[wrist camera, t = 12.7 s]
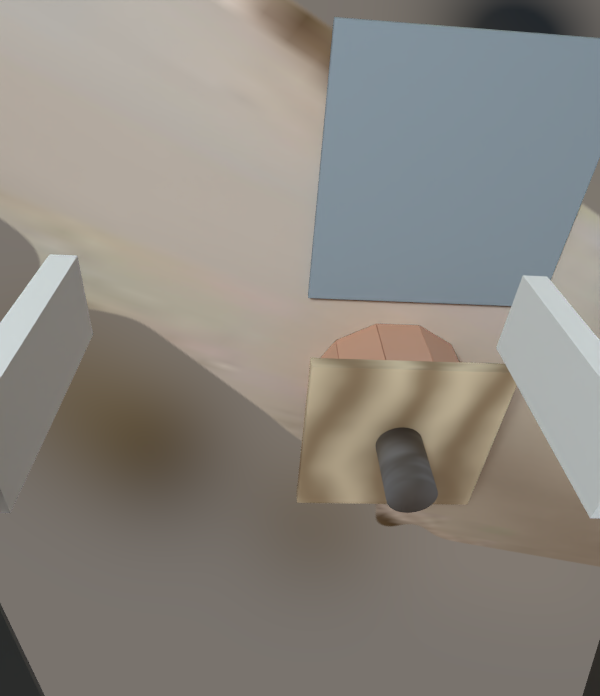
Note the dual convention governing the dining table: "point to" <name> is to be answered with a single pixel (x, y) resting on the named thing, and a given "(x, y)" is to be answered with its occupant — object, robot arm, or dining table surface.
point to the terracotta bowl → (392, 345)
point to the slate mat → (450, 160)
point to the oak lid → (399, 430)
